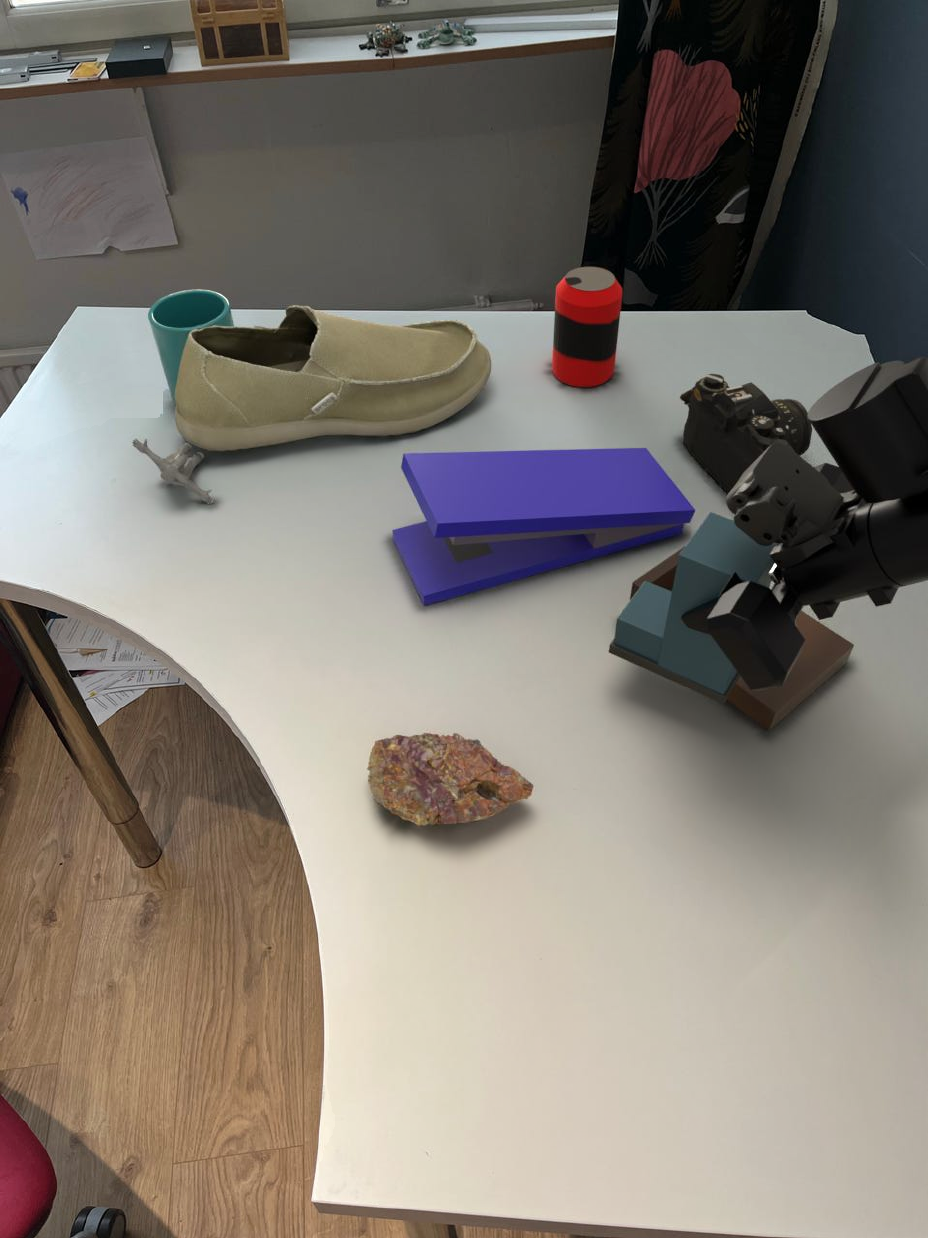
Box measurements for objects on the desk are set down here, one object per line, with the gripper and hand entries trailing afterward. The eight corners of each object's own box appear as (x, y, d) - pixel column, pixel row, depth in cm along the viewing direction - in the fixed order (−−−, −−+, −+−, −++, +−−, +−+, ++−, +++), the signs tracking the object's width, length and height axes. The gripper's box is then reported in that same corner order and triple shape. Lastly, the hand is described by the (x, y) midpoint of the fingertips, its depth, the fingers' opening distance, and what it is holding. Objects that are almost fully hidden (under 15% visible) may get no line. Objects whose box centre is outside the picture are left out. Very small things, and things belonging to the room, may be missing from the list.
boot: (750, 658, 75) (787, 539, 65) (723, 704, 72) (757, 586, 62) (638, 610, 79) (658, 491, 69) (608, 652, 76) (624, 534, 66)
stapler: (391, 535, 94) (382, 457, 87) (638, 471, 100) (649, 393, 93) (427, 612, 86) (421, 534, 79) (691, 537, 93) (708, 458, 85)
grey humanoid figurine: (244, 463, 103) (222, 490, 95) (213, 501, 105) (189, 530, 97) (169, 403, 100) (139, 425, 92) (139, 444, 102) (108, 468, 94)
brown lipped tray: (846, 663, 81) (864, 621, 77) (768, 731, 76) (784, 689, 72) (703, 568, 90) (713, 525, 86) (625, 624, 85) (632, 581, 81)
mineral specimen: (504, 714, 76) (518, 705, 70) (525, 807, 75) (542, 806, 68) (360, 745, 74) (361, 738, 68) (379, 841, 73) (382, 843, 66)
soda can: (543, 360, 115) (547, 268, 106) (600, 350, 117) (609, 258, 108) (563, 393, 110) (569, 299, 102) (623, 382, 112) (634, 288, 103)
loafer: (511, 413, 108) (515, 313, 99) (193, 485, 99) (166, 382, 89) (467, 354, 117) (467, 257, 108) (172, 415, 107) (145, 314, 98)
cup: (250, 357, 117) (232, 273, 109) (247, 412, 109) (227, 326, 101) (178, 363, 117) (154, 279, 108) (169, 419, 109) (143, 333, 100)
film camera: (849, 482, 98) (878, 402, 91) (776, 533, 93) (800, 453, 85) (717, 409, 107) (734, 331, 100) (644, 452, 102) (656, 373, 95)
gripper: (875, 364, 61) (693, 448, 73) (770, 524, 50) (579, 590, 63) (957, 497, 63) (768, 557, 76) (873, 676, 53) (670, 710, 65)
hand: (700, 597), depth 70 cm, fingers closed on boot, 5 cm apart
